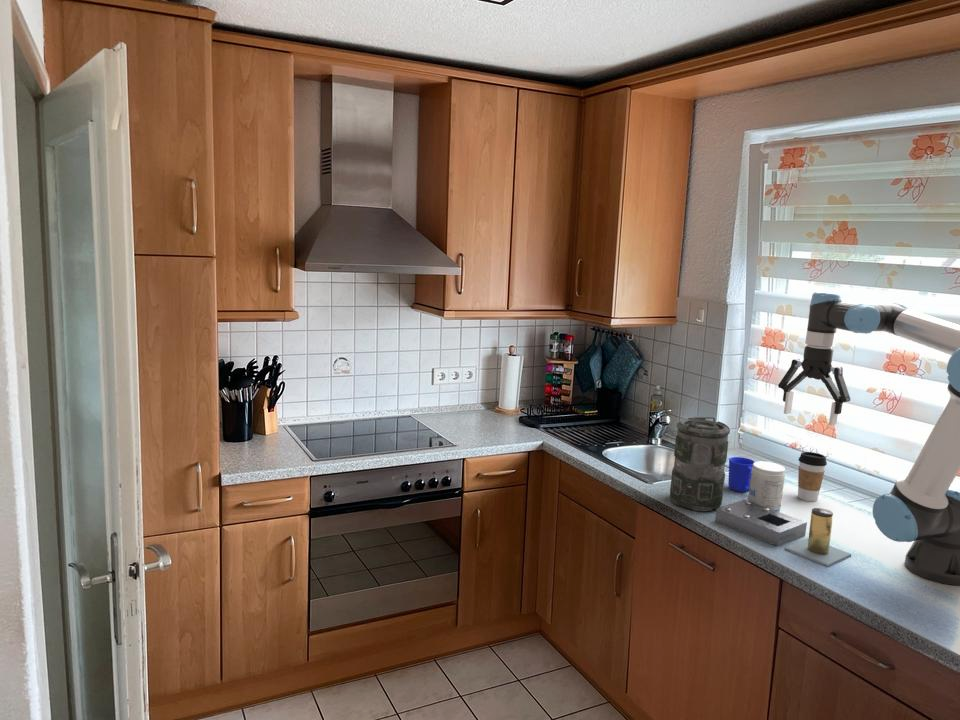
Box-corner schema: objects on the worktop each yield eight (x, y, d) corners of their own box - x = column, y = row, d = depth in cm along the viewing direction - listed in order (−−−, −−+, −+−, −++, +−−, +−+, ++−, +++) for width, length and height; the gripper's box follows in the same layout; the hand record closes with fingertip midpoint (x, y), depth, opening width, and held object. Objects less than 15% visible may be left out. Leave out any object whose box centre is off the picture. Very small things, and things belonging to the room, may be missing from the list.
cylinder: (832, 551, 192) (837, 512, 190) (821, 556, 189) (826, 516, 187) (814, 544, 196) (818, 506, 194) (803, 548, 193) (807, 510, 191)
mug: (740, 498, 231) (744, 468, 229) (721, 485, 243) (724, 457, 241) (763, 497, 233) (767, 468, 231) (743, 484, 244) (746, 456, 243)
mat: (851, 556, 192) (851, 554, 191) (827, 566, 184) (828, 564, 184) (808, 539, 201) (808, 537, 201) (784, 549, 194) (784, 547, 194)
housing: (805, 535, 204) (807, 520, 203) (777, 546, 195) (779, 531, 195) (743, 511, 219) (744, 498, 219) (715, 521, 211) (716, 507, 210)
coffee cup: (793, 499, 232) (798, 455, 229) (794, 491, 240) (799, 448, 237) (821, 504, 229) (827, 459, 226) (821, 496, 236) (827, 453, 233)
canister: (684, 513, 216) (694, 424, 211) (660, 494, 231) (668, 410, 226) (731, 511, 219) (741, 423, 215) (704, 492, 235) (713, 409, 230)
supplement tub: (741, 505, 225) (746, 460, 222) (770, 505, 226) (775, 460, 223) (755, 517, 215) (761, 470, 213) (785, 517, 216) (791, 471, 214)
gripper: (870, 353, 196) (859, 427, 200) (785, 339, 215) (776, 407, 219) (857, 354, 191) (846, 431, 195) (771, 340, 211) (762, 410, 215)
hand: (809, 418), depth 207 cm, fingers open, 13 cm apart
